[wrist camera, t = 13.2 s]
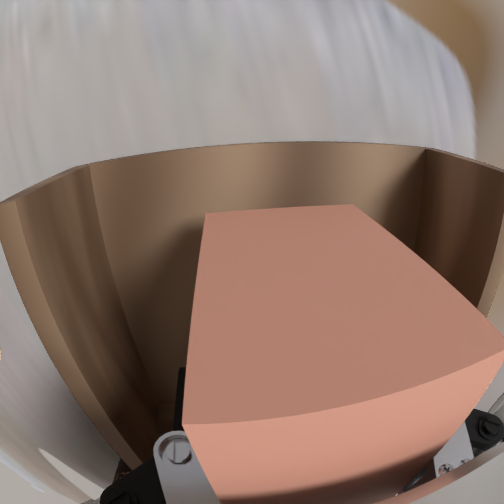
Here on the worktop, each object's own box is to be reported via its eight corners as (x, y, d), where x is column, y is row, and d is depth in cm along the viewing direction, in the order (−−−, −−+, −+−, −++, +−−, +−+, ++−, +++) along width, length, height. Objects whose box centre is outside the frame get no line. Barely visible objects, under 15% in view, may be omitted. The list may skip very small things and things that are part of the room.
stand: (433, 148, 12) (588, 207, 4) (385, 376, 18) (436, 476, 10) (74, 166, 11) (-83, 257, 3) (150, 405, 17) (136, 523, 9)
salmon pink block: (352, 204, 10) (512, 345, 3) (327, 392, 14) (368, 516, 7) (205, 213, 10) (181, 424, 3) (231, 404, 14) (243, 540, 7)
